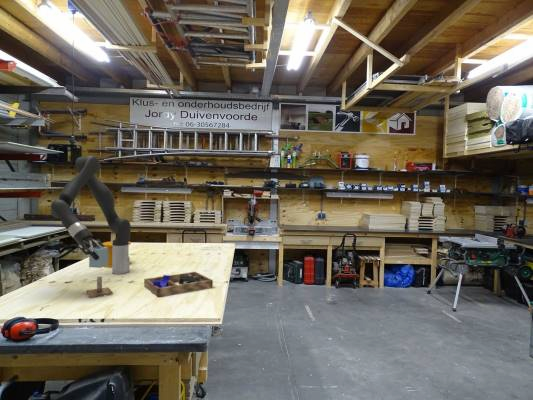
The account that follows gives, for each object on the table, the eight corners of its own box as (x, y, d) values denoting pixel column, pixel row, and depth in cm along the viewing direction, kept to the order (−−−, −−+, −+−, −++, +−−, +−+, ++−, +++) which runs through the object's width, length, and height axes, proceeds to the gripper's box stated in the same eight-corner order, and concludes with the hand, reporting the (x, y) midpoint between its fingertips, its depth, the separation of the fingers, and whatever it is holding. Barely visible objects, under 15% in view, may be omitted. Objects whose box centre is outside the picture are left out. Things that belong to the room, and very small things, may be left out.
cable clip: (161, 286, 184) (161, 275, 184) (169, 286, 184) (169, 275, 183) (150, 293, 173) (150, 281, 172) (158, 293, 172) (158, 281, 171)
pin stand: (108, 289, 177) (108, 273, 177) (112, 294, 169) (112, 278, 169) (86, 292, 171) (86, 276, 171) (90, 298, 163) (90, 281, 163)
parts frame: (195, 278, 201) (195, 271, 201) (212, 287, 184) (212, 280, 184) (144, 286, 184) (144, 278, 184) (157, 297, 166) (157, 288, 166)
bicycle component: (189, 276, 198) (174, 284, 184) (193, 265, 196) (178, 272, 182) (206, 286, 194) (192, 295, 180) (210, 275, 193) (196, 283, 179)
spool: (133, 265, 230) (133, 243, 229) (104, 269, 219) (104, 245, 219) (127, 260, 244) (127, 239, 244) (99, 263, 234) (99, 241, 234)
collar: (97, 264, 173) (97, 246, 172) (108, 265, 172) (108, 247, 172) (89, 267, 167) (89, 248, 167) (100, 267, 166) (100, 249, 166)
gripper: (74, 229, 163) (97, 255, 161) (94, 226, 177) (115, 250, 176) (64, 240, 164) (87, 266, 162) (85, 235, 178) (106, 259, 177)
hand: (101, 257), depth 169 cm, fingers closed on collar, 6 cm apart
